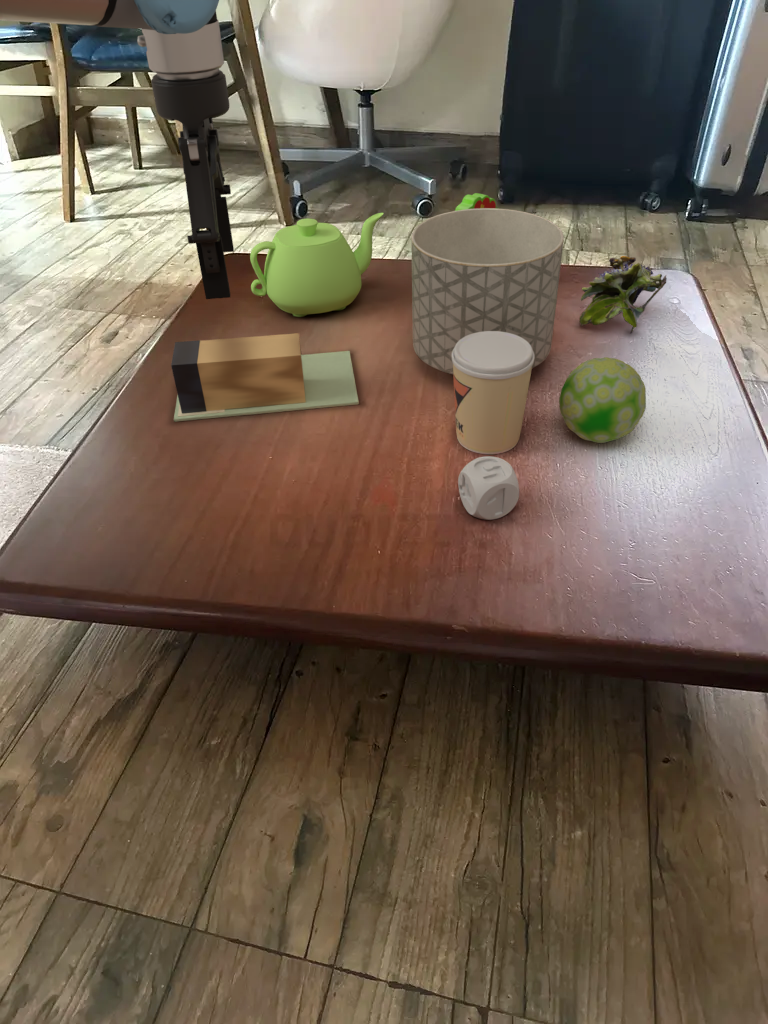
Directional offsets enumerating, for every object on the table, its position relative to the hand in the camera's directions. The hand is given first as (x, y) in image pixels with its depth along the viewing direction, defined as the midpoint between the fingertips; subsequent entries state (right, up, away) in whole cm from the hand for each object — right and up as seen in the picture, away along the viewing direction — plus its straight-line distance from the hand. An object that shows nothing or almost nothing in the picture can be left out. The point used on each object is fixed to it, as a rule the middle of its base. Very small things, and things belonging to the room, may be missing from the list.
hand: (220, 273), depth 93 cm
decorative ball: (+45, -19, +2) cm, 49 cm away
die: (+31, -28, -7) cm, 42 cm away
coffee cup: (+32, -19, +3) cm, 38 cm away
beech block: (+1, -13, +11) cm, 17 cm away
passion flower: (+55, 0, +25) cm, 60 cm away
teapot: (+9, +6, +34) cm, 36 cm away
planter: (+33, -7, +17) cm, 38 cm away
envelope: (+3, -11, +14) cm, 18 cm away
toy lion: (+32, +7, +34) cm, 47 cm away
